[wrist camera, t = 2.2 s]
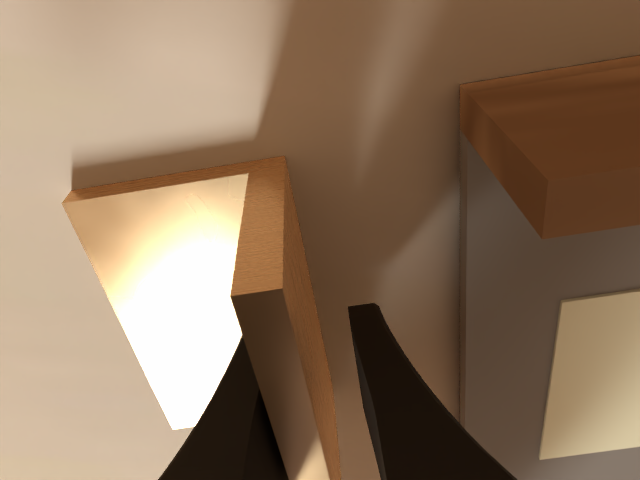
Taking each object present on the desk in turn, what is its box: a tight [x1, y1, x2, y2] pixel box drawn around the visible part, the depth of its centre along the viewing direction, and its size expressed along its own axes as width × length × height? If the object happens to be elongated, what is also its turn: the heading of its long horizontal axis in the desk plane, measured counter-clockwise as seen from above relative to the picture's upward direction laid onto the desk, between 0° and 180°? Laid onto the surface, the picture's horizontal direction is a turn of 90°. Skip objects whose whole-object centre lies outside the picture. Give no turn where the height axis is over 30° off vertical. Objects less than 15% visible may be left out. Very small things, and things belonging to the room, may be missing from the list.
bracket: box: [62, 156, 341, 480], centre depth 12 cm, size 8×5×5 cm, turn 9°
